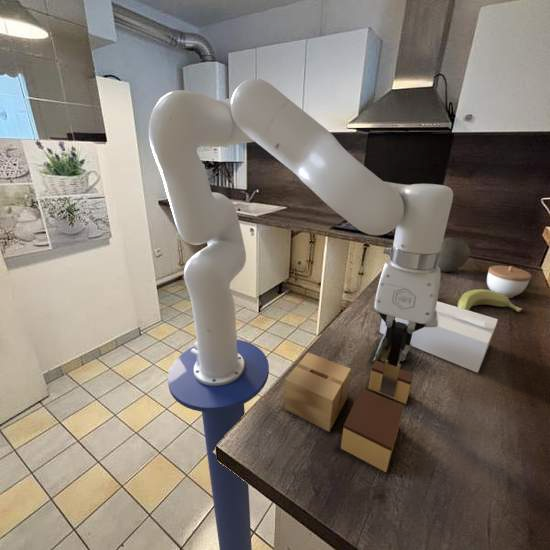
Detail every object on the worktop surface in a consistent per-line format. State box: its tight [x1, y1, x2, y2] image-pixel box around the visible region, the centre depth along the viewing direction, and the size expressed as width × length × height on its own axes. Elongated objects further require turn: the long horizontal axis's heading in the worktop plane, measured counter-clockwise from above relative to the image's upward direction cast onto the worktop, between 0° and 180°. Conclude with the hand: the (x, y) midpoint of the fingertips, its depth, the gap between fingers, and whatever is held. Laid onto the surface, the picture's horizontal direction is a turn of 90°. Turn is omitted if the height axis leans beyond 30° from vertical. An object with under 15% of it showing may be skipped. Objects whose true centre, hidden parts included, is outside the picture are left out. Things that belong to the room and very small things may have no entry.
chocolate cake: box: [372, 333, 413, 364], centre depth 76 cm, size 10×7×12 cm
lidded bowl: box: [486, 265, 533, 299], centre depth 108 cm, size 13×13×11 cm
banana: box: [457, 288, 523, 314], centre depth 98 cm, size 14×6×20 cm
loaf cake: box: [340, 387, 405, 473], centre depth 53 cm, size 8×10×6 cm
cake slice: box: [368, 360, 415, 405], centre depth 64 cm, size 8×3×6 cm, turn 57°
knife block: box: [284, 352, 352, 432], centre depth 60 cm, size 10×10×8 cm
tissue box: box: [379, 300, 499, 374], centre depth 81 cm, size 14×25×11 cm, turn 47°
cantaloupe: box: [437, 236, 471, 273], centre depth 128 cm, size 14×14×15 cm
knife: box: [380, 322, 407, 397], centre depth 60 cm, size 3×2×18 cm
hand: (397, 343), depth 58 cm, fingers closed on knife, 1 cm apart
